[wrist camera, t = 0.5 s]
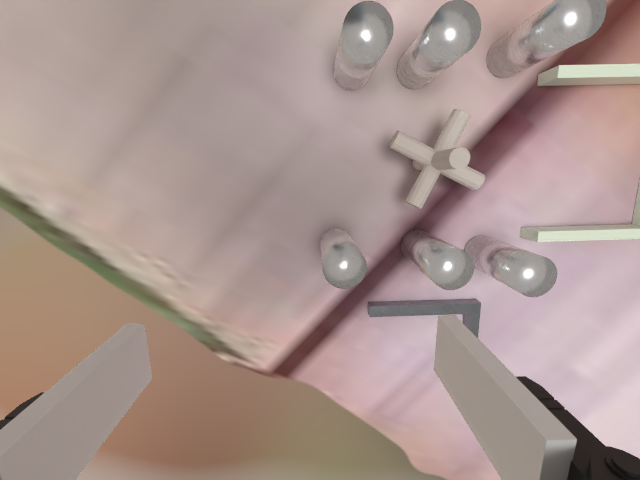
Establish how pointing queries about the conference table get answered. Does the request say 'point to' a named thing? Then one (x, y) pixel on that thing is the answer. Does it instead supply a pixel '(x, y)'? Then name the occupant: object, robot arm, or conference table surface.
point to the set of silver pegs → (416, 71)
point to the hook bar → (430, 310)
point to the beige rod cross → (438, 159)
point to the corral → (636, 230)
